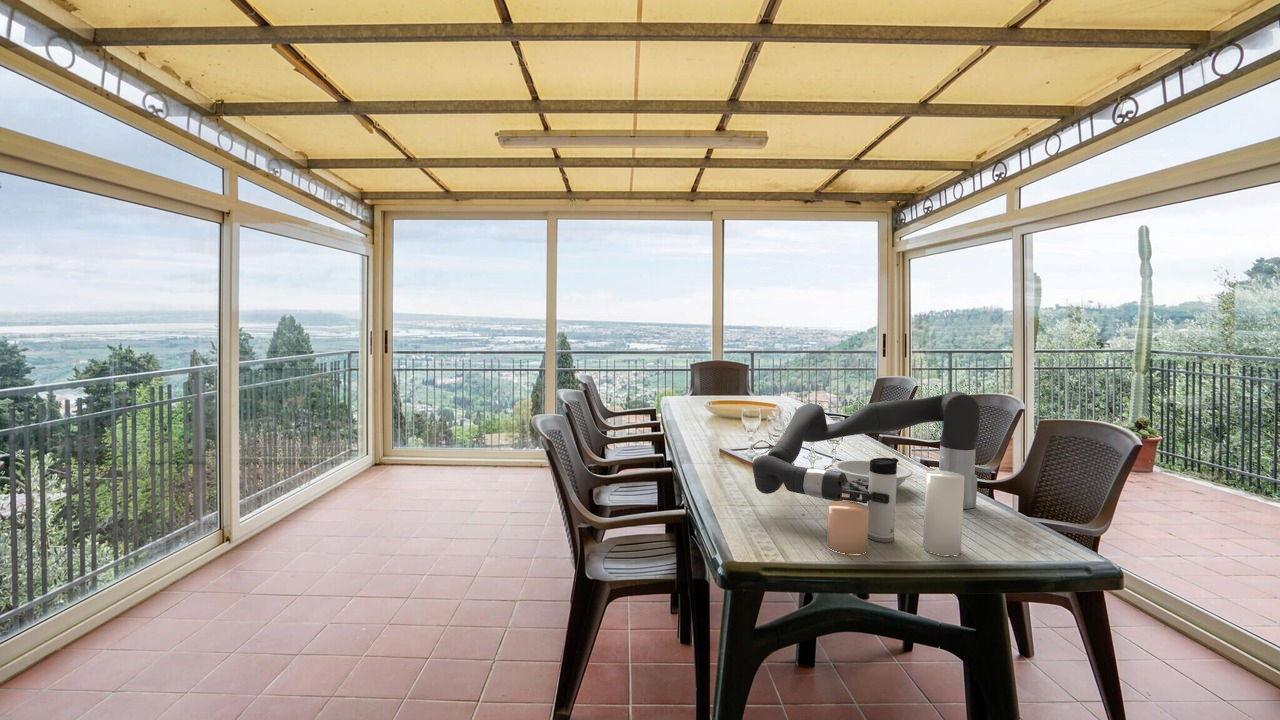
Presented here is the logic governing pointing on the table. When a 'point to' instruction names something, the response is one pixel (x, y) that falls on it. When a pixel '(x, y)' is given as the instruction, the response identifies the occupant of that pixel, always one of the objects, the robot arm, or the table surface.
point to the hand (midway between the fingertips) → (892, 496)
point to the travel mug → (880, 513)
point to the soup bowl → (866, 470)
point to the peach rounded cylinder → (847, 527)
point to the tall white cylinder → (943, 512)
